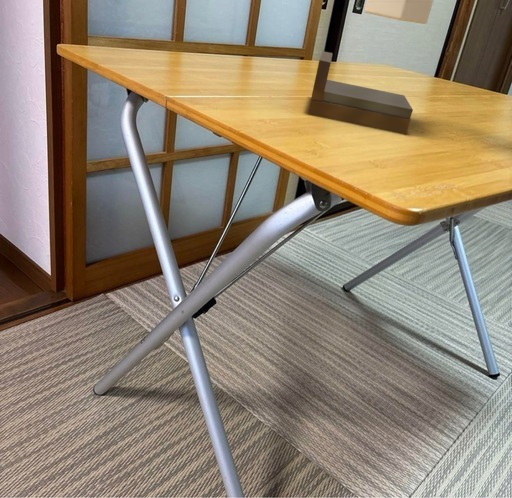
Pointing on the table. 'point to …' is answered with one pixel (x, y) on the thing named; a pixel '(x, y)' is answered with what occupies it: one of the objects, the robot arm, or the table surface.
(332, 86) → the l-shaped brown block
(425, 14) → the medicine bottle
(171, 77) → the table surface
